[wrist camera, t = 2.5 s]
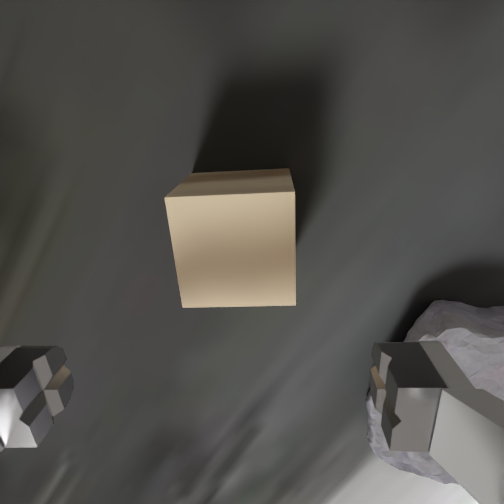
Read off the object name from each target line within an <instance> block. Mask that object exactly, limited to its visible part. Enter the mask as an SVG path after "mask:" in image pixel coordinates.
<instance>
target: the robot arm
mask: <svg viewBox="0 0 504 504" xmlns="http://www.w3.org/2000/svg"><path fill="white" fill-rule="evenodd" d="M372 358H373V360H374V363H375V366H374V367H373V368H372V369H371V370H370V391H371V396H372V401H373V404H374V407H375V410H376V411H378V412H379V413H380V414H381V415H382V419H381V427H382V430H383V433H384V436H385V439H386V441H387V444H388V447H389V450H390V451H406V452H430V453H429V455H430V456H431V457H432V458H433V459H434V460H435V461H436V462H437V463H438V464H439V465H441V466H442V467H443V468H444V469H445V470H446V471H447V472H448V473H449V474H450V475H451V476H452V477H453V478H454V479H455V480H456V481H457V482H458V483H459V484H460V485H461V486H462V487H463V488H464V489H465V490H466V491H467V492H468V493H469V494H470V495H471V496H472V497H473V498H474V499H475V500H476V501H477V502H478V503H479V504H504V401H503V400H501V399H499V398H498V397H496V396H494V395H492V394H491V393H489V392H487V391H486V390H484V389H475V387H474V386H473V385H472V383H471V382H470V381H469V379H468V378H467V377H466V375H465V374H464V373H463V371H462V370H461V369H460V367H459V366H458V365H457V363H456V362H455V361H454V359H453V358H452V357H451V355H450V354H449V353H448V351H447V350H446V349H445V347H444V346H443V344H442V343H441V342H439V341H437V340H433V341H416V342H378V343H374V345H373V349H372ZM66 359H67V358H66V355H65V353H64V350H63V348H61V347H58V346H3V347H0V452H1V451H2V450H3V448H14V447H38V445H39V444H40V442H41V441H42V440H43V438H44V437H45V435H46V434H47V433H48V431H49V430H50V428H51V427H52V426H53V424H54V420H53V416H54V415H56V414H57V413H59V412H60V411H62V410H63V409H64V408H65V407H66V405H67V404H68V402H69V401H70V399H71V396H72V392H73V389H74V381H73V376H72V373H71V371H69V370H68V369H67V368H66V367H65V366H64V363H65V361H66Z"/></svg>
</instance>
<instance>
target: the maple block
mask: <svg viewBox="0 0 504 504" xmlns="http://www.w3.org/2000/svg"><path fill="white" fill-rule="evenodd" d="M164 198H165V204H166V210H167V216H168V222H169V228H170V234H171V240H172V246H173V252H174V259H175V265H176V271H177V277H178V283H179V289H180V295H181V301H182V307H183V308H192V307H242V306H293V305H296V259H295V190H294V186H293V182H292V178H291V174H290V170H289V168H285V169H265V170H245V171H225V172H204V173H192V174H190V175H189V176H188V177H187V178H186V179H185V180H184V181H182V182H181V183H180V184H179V185H178V186H177V187H176V188H175V189H173V190H172V191H171V192H170V193H169V194H168V195H167V196H166V197H164Z"/></svg>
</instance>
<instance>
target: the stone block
mask: <svg viewBox="0 0 504 504" xmlns="http://www.w3.org/2000/svg"><path fill="white" fill-rule="evenodd" d="M433 340H437V341H439V342H441V343H442V344H443V346H444V347H445V349H446V350H447V351H448V353H449V354H450V355H451V357H452V358H453V359H454V361H455V362H456V363H457V365H458V366H459V367H460V369H461V370H462V371H463V373H464V374H465V375H466V377H467V378H468V379H469V381H470V382H471V383H472V385H473V386H474V387H475V389H484V390H486V391H487V392H489V393H491V394H492V395H494V396H496V397H498V398H499V399H501V400H503V401H504V306H494V307H490V308H478V307H474V306H471V305H467V304H465V303H462V302H455V301H446V300H435V301H433V302H432V303H431V304H430V305H429V307H428V308H427V309H426V310H425V311H424V312H423V314H422V315H421V316H420V317H419V318H418V319H417V320H416V321H415V323H414V325H413V327H412V328H411V329H410V330H409V331H408V332H407V336H406V338H405V340H404V342H416V341H433ZM366 405H367V409H368V432H367V436H368V440H369V443H370V446H371V447H372V448H373V451H374V452H375V454H376V455H377V456H378V457H379V458H381V459H383V460H384V461H385V462H386V463H388V464H390V465H392V466H394V467H396V468H397V469H399V470H403V471H407V472H412V473H415V474H417V475H420V476H424V477H428V478H431V479H434V480H436V481H439V482H441V483H444V484H448V483H455V484H459V483H458V482H457V481H456V480H455V479H454V478H453V477H452V476H451V475H450V474H449V473H448V472H447V471H446V470H445V469H444V468H443V467H442V466H441V465H439V464H438V463H437V462H436V461H435V460H434V459H433V458H432V457H431V456H430V455H429V453H430V452H406V451H390V450H389V447H388V444H387V441H386V439H385V436H384V433H383V430H382V427H381V419H382V415H381V414H380V413H379V412H378V411H376V410H375V407H374V404H373V401H372V396H371V391H369V393H368V395H367V398H366Z"/></svg>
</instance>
